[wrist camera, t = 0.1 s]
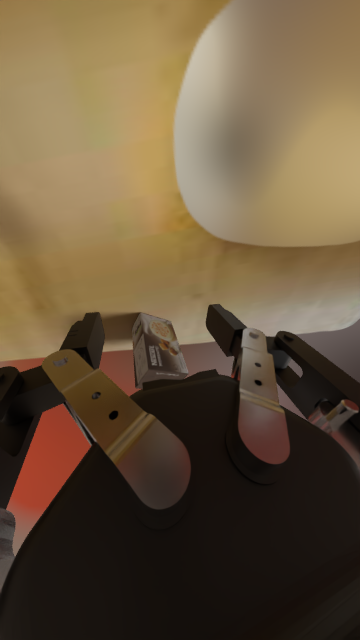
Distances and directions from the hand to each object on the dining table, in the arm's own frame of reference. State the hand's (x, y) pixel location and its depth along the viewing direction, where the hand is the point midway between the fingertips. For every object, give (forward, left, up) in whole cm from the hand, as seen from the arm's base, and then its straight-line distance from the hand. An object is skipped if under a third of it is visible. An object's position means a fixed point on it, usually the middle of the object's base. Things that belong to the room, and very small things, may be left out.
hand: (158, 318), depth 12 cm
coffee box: (+17, +12, -23) cm, 31 cm away
